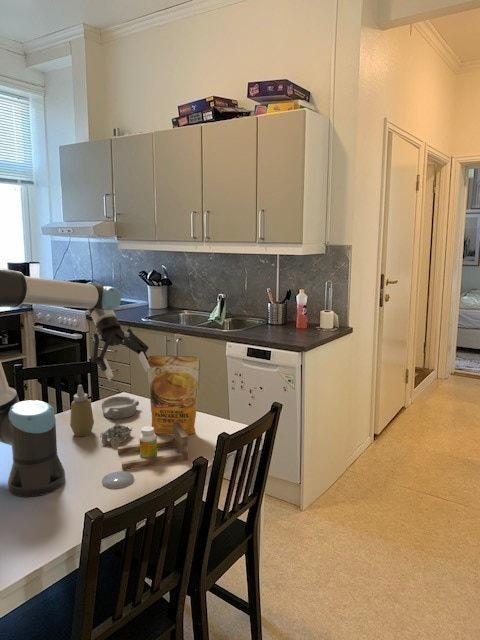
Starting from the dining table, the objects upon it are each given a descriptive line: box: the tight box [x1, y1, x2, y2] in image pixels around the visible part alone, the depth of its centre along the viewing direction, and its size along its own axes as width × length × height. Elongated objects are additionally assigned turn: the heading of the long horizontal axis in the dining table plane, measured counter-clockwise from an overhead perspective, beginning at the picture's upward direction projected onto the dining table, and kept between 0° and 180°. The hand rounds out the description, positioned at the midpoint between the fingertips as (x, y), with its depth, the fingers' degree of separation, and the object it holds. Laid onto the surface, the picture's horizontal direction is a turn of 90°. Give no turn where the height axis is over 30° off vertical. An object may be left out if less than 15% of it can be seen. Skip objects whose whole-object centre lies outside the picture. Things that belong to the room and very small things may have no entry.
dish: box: [101, 395, 140, 420], centre depth 195 cm, size 14×14×5 cm
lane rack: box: [117, 422, 189, 471], centre depth 158 cm, size 20×12×8 cm, turn 110°
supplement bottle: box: [139, 425, 158, 459], centre depth 157 cm, size 5×5×10 cm
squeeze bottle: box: [69, 384, 95, 437], centre depth 174 cm, size 8×8×18 cm
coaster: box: [101, 470, 135, 490], centre depth 143 cm, size 9×9×1 cm
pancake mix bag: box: [146, 355, 201, 436], centre depth 176 cm, size 7×19×28 cm, turn 85°
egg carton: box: [99, 423, 133, 447], centre depth 171 cm, size 11×8×4 cm
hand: (130, 374), depth 161 cm, fingers open, 13 cm apart
